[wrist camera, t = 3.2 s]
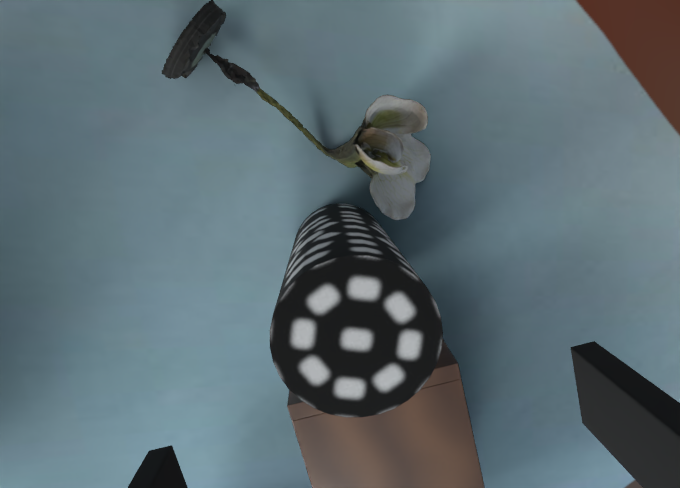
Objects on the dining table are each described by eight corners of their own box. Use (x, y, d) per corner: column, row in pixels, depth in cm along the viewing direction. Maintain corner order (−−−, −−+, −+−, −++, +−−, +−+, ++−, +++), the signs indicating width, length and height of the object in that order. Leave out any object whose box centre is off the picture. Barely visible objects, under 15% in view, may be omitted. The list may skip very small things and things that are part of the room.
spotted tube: (392, 209, 41) (456, 265, 22) (379, 298, 43) (427, 425, 23) (299, 198, 41) (278, 245, 21) (289, 288, 42) (261, 409, 23)
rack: (348, 512, 47) (356, 632, 36) (296, 335, 43) (286, 405, 32) (462, 484, 47) (508, 596, 35) (421, 304, 43) (458, 363, 31)
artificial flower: (223, -3, 38) (231, -77, 29) (422, 163, 44) (484, 147, 35) (158, 81, 37) (144, 33, 28) (372, 240, 43) (421, 245, 34)
